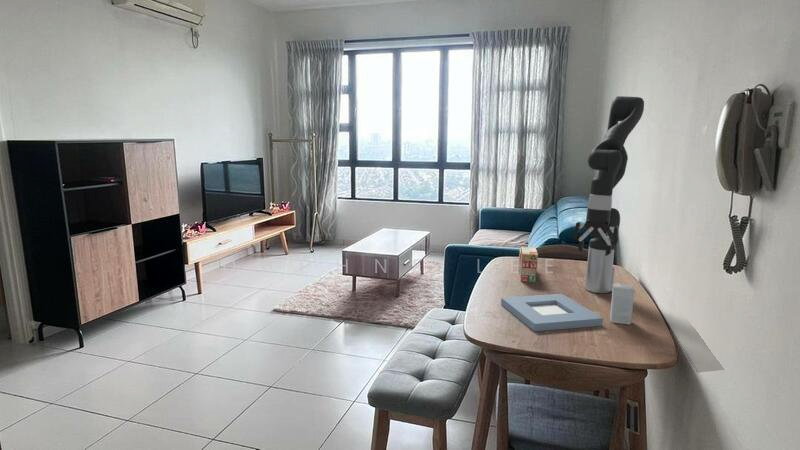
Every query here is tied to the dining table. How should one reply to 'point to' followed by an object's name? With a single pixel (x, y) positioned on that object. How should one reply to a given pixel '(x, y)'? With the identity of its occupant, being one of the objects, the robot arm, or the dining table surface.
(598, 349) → the dining table surface
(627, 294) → the skincare box
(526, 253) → the stack of blocks
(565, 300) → the base board
